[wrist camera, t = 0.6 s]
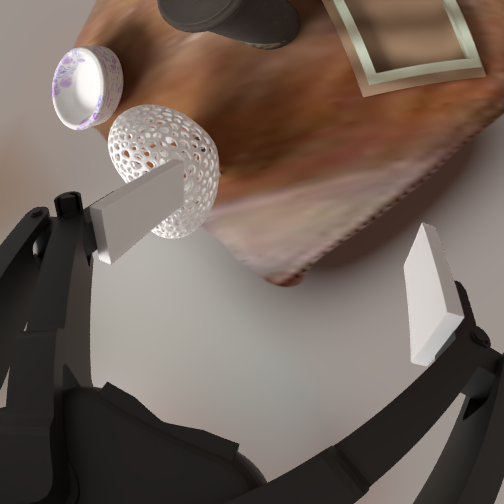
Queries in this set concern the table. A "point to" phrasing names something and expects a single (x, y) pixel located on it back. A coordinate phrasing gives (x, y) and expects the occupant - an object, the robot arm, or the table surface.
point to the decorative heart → (170, 152)
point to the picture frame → (405, 42)
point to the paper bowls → (87, 86)
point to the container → (235, 19)
